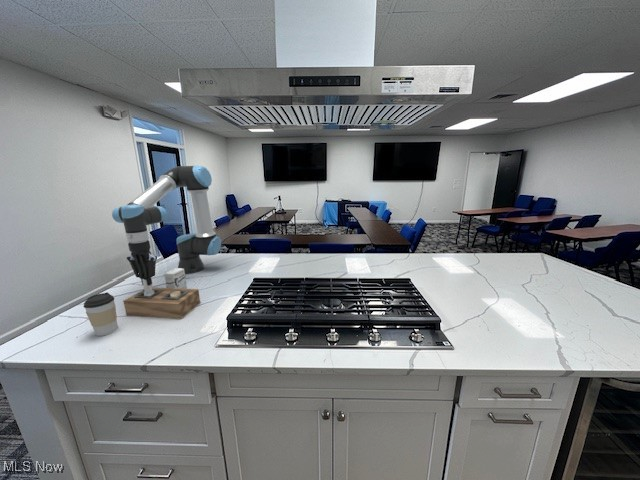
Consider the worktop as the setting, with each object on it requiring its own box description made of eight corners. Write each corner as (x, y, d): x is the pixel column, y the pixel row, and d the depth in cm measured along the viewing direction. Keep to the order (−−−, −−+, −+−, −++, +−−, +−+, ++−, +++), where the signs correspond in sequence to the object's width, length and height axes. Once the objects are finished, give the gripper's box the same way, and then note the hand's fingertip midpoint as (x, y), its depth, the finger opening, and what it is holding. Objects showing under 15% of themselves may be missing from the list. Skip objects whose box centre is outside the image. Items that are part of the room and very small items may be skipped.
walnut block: (151, 300, 123) (148, 286, 121) (200, 302, 120) (198, 288, 118) (126, 315, 109) (122, 300, 107) (181, 318, 106) (178, 302, 104)
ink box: (175, 295, 127) (172, 274, 124) (167, 295, 128) (163, 273, 125) (187, 288, 135) (184, 268, 132) (179, 287, 136) (176, 267, 133)
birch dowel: (176, 304, 115) (174, 290, 114) (184, 305, 115) (182, 291, 113) (170, 309, 112) (168, 294, 110) (178, 309, 111) (176, 295, 109)
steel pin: (151, 303, 117) (148, 289, 115) (158, 303, 117) (156, 290, 115) (144, 307, 113) (141, 293, 112) (152, 308, 113) (149, 294, 111)
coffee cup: (97, 340, 93) (87, 304, 89) (87, 333, 97) (77, 298, 93) (125, 327, 100) (117, 293, 96) (114, 321, 104) (106, 289, 101)
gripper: (117, 243, 104) (128, 294, 110) (145, 243, 103) (155, 295, 109) (132, 238, 112) (142, 287, 117) (158, 239, 110) (167, 288, 116)
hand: (148, 291), depth 113 cm, fingers closed
